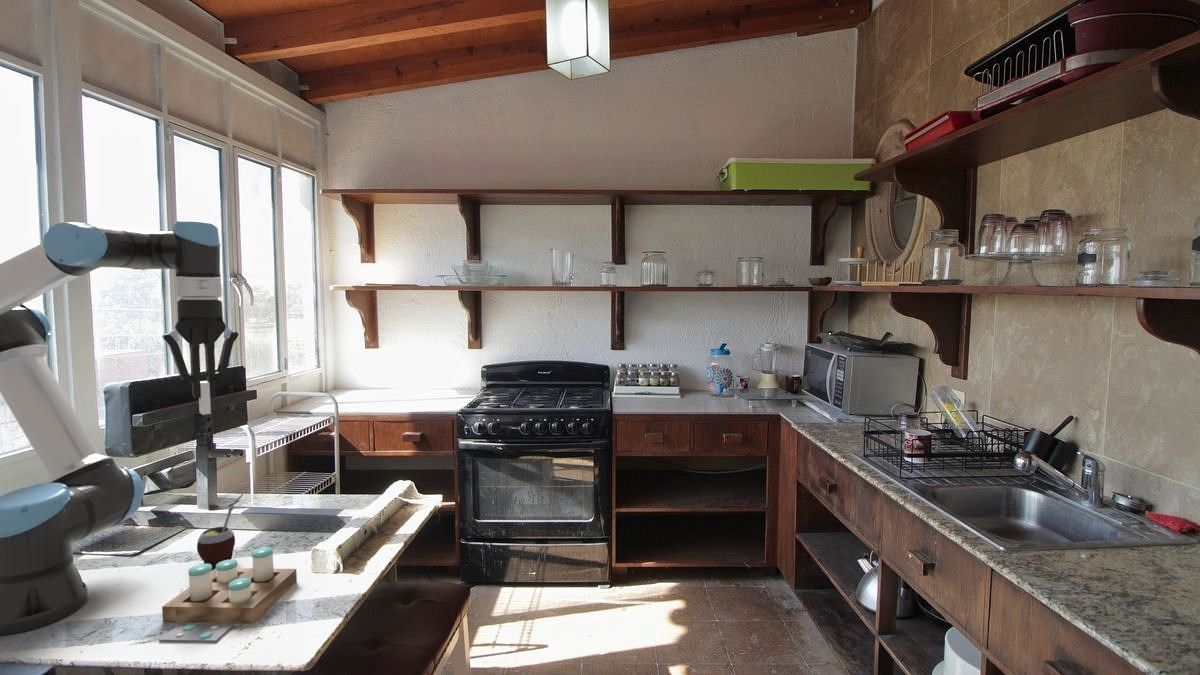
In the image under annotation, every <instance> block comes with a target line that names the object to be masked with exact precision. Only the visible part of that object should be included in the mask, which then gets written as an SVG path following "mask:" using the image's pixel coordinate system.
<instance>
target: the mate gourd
mask: <svg viewBox="0 0 1200 675" xmlns="http://www.w3.org/2000/svg"><path fill="white" fill-rule="evenodd" d="M243 496H244V494H243V493H242V494H240V495H239V496H238V497H236V499H235V500H233V502H232V503H231V505H230V506H229V508H228V512H227V516H226V519H225V521H224V525H223V526H214V527H211V528H208V529H206V530H204V531H203V532H202V533H201V534H200V536H199V537H198V540H197V544H196V550H197V553H198V555H199V557H200V559H201V560H202V561H203V563H202V564H211V565H212V571H213V570H214V569H216V564H218V563H219V562H221V561H224V560H230V559H233V552H234V549H235V544H236V536H235V534H234V531H233V530H232V529H231V528H230V527H228V523H229V520H230V517H231V513H232V511H233V510H234V506H235V505H236V503H237V502H238V501H239V500H240V499H241V498H242V497H243Z"/></svg>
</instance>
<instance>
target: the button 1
mask: <svg viewBox="0 0 1200 675" xmlns="http://www.w3.org/2000/svg"><path fill="white" fill-rule="evenodd" d="M188 582H189V583H188V585H189V587H190V600H191V601H201V600H205V599H207V598H209V597H211V596H212V595H213V585H212V565H211V564H203V563H201V564H197V565H194V566H192V567H190V568H189V569H188Z"/></svg>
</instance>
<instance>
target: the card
mask: <svg viewBox="0 0 1200 675" xmlns="http://www.w3.org/2000/svg"><path fill="white" fill-rule="evenodd" d="M234 627H235V623H194V622H179V623H178V624H177V625H176V626H175V627H174V628H172V629H171V630H169V631H168V632H167V633H166V634H164V636H162V637H161V638H159V640H158V642H159V643H203V644H204V643H213V644H214V643H215V644H216V643H217V642H219V640H221V639H222V638H223V637H224V636H225V635H226V634H228V632H230V630H232V628H234Z"/></svg>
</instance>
